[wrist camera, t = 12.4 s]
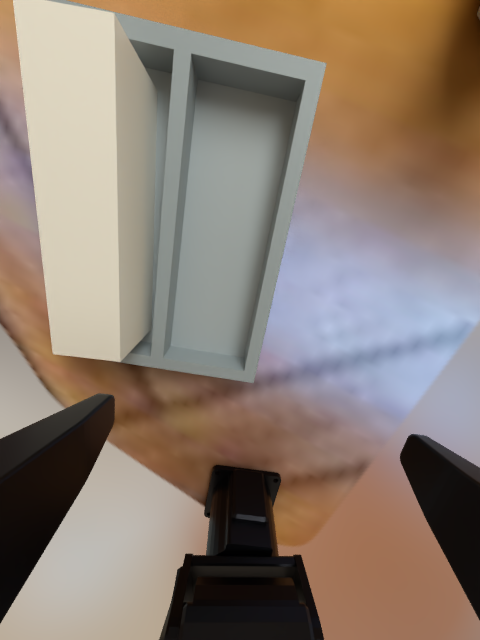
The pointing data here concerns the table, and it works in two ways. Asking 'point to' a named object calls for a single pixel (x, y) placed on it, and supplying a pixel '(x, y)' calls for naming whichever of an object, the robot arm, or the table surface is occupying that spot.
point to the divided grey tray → (219, 191)
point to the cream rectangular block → (90, 175)
